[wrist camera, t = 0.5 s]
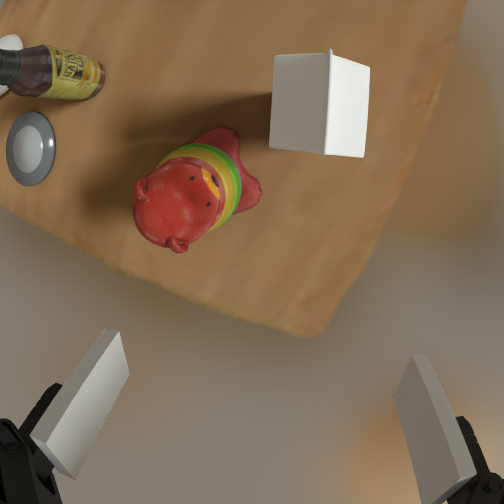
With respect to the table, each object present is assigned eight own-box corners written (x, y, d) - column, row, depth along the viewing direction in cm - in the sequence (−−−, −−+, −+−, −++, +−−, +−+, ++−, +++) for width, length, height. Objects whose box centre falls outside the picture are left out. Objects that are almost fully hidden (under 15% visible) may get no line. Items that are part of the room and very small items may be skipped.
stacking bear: (267, 200, 38) (257, 256, 22) (196, 230, 41) (143, 298, 24) (231, 120, 35) (190, 113, 19) (160, 156, 37) (80, 180, 21)
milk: (274, 139, 36) (263, 152, 15) (277, 91, 33) (269, 40, 13) (324, 144, 35) (379, 165, 15) (328, 96, 33) (386, 56, 13)
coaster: (6, 122, 36) (3, 122, 35) (53, 103, 35) (49, 103, 34) (13, 189, 41) (10, 190, 40) (60, 179, 39) (56, 180, 39)
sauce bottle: (114, 80, 34) (7, 65, 15) (83, 109, 35) (-26, 115, 17) (95, 49, 32) (-7, 23, 13) (66, 77, 33) (-39, 72, 15)
